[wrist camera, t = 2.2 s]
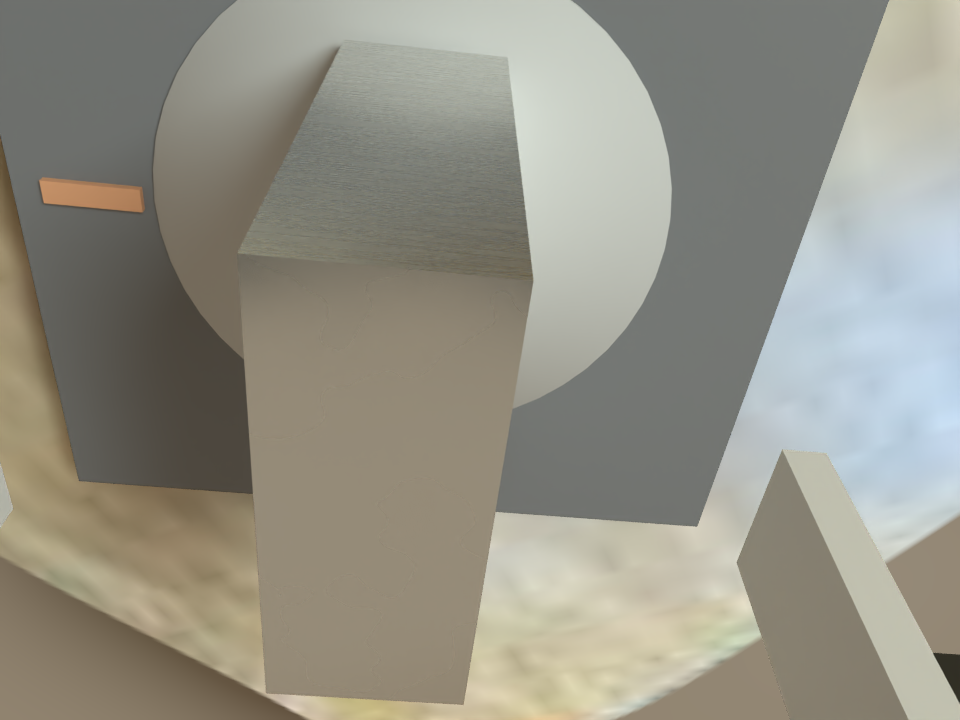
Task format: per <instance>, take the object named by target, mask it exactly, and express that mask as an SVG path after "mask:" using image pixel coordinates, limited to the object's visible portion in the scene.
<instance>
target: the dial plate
mask: <svg viewBox="0 0 960 720" xmlns="http://www.w3.org/2000/svg"><path fill="white" fill-rule="evenodd" d="M888 1H889V0H0V136H1V140H2V145H3V149H4V153H5V158H6V162H7V167H8V171H9V175H10V180H11V184H12V189H13V193H14V197H15V202H16V206H17V211H18V215H19V219H20V224H21V228H22V233H23V237H24V241H25V246H26V250H27V254H28V259H29V263H30V268H31V272H32V276H33V281H34V285H35V290H36V294H37V298H38V303H39V307H40V312H41V316H42V320H43V325H44V329H45V334H46V338H47V342H48V347H49V351H50V356H51V360H52V364H53V369H54V373H55V378H56V382H57V386H58V391H59V395H60V399H61V404H62V408H63V413H64V417H65V421H66V426H67V430H68V435H69V439H70V443H71V448H72V452H73V457H74V461H75V465H76V470H77V474H78V479H79V481H86V482H99V483H113V484H126V485H140V486H154V487H167V488H181V489H194V490H208V491H221V492H235V493H248V494H253V486H252V471H251V456H250V441H249V425H248V410H247V395H246V380H245V365H244V350H243V335H242V320H241V304H240V289H239V274H238V259H237V253H238V251H239V249H240V247H241V245H242V243H243V241H244V239H245V237H246V235H247V233H248V231H249V229H250V227H251V225H252V223H253V221H254V219H255V217H256V215H257V213H258V211H259V209H260V207H261V205H262V203H263V201H264V199H265V197H266V195H267V193H268V191H269V189H270V187H271V185H272V183H273V181H274V179H275V177H276V175H277V173H278V171H279V169H280V167H281V165H282V163H283V161H284V159H285V157H286V155H287V153H288V151H289V149H290V147H291V145H292V143H293V141H294V139H295V137H296V135H297V133H298V131H299V129H300V127H301V125H302V123H303V121H304V119H305V117H306V115H307V113H308V111H309V109H310V107H311V105H312V103H313V101H314V99H315V97H316V95H317V93H318V91H319V89H320V87H321V85H322V83H323V81H324V79H325V77H326V75H327V73H328V71H329V69H330V67H331V65H332V63H333V61H334V59H335V57H336V55H337V53H338V51H339V49H340V47H341V45H342V43H343V41H344V39H346V40H355V41H364V42H373V43H382V44H391V45H400V46H409V47H418V48H428V49H437V50H446V51H455V52H464V53H473V54H482V55H491V56H500V57H508V65H509V74H510V82H511V91H512V99H513V108H514V116H515V125H516V134H517V142H518V151H519V159H520V168H521V177H522V185H523V194H524V202H525V211H526V219H527V228H528V237H529V245H530V254H531V262H532V271H533V280H534V281H533V288H532V294H531V300H530V306H529V312H528V318H527V324H526V330H525V336H524V342H523V348H522V354H521V360H520V366H519V372H518V378H517V384H516V390H515V396H514V402H513V408H512V414H511V420H510V426H509V433H508V439H507V445H506V451H505V457H504V463H503V469H502V475H501V481H500V487H499V493H498V499H497V505H496V511H495V512H506V513H520V514H533V515H547V516H560V517H574V518H587V519H601V520H614V521H628V522H642V523H655V524H669V525H682V526H696V527H697V526H698V523H699V520H700V517H701V515H702V512H703V509H704V506H705V504H706V501H707V498H708V495H709V493H710V490H711V487H712V484H713V482H714V479H715V476H716V473H717V471H718V468H719V465H720V462H721V460H722V457H723V454H724V451H725V449H726V446H727V443H728V440H729V438H730V435H731V432H732V430H733V427H734V424H735V421H736V419H737V416H738V413H739V410H740V408H741V405H742V402H743V399H744V397H745V394H746V391H747V388H748V386H749V383H750V380H751V377H752V375H753V372H754V369H755V366H756V364H757V361H758V358H759V355H760V353H761V350H762V347H763V344H764V342H765V339H766V336H767V333H768V331H769V328H770V325H771V323H772V320H773V317H774V314H775V312H776V309H777V306H778V303H779V301H780V298H781V295H782V292H783V290H784V287H785V284H786V281H787V279H788V276H789V273H790V270H791V268H792V265H793V262H794V259H795V257H796V254H797V251H798V248H799V246H800V243H801V240H802V237H803V235H804V232H805V229H806V226H807V224H808V221H809V218H810V216H811V213H812V210H813V207H814V205H815V202H816V199H817V196H818V194H819V191H820V188H821V185H822V183H823V180H824V177H825V174H826V172H827V169H828V166H829V163H830V161H831V158H832V155H833V152H834V150H835V147H836V144H837V141H838V139H839V136H840V133H841V130H842V128H843V125H844V122H845V119H846V117H847V114H848V111H849V109H850V106H851V103H852V100H853V98H854V95H855V92H856V89H857V87H858V84H859V81H860V78H861V76H862V73H863V70H864V67H865V65H866V62H867V59H868V56H869V54H870V51H871V48H872V45H873V43H874V40H875V37H876V34H877V32H878V29H879V26H880V23H881V21H882V18H883V15H884V12H885V10H886V7H887V4H888Z"/></svg>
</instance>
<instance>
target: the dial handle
mask: <svg viewBox="0 0 960 720" xmlns="http://www.w3.org/2000/svg"><path fill="white" fill-rule="evenodd" d="M237 259H238V274H239V289H240V304H241V320H242V335H243V350H244V365H245V380H246V395H247V410H248V425H249V441H250V456H251V471H252V486H253V501H254V516H255V531H256V546H257V562H258V577H259V592H260V607H261V622H262V637H263V652H264V667H265V683H266V693H271V694H288V695H305V696H322V697H339V698H356V699H374V700H391V701H408V702H425V703H442V704H459V705H463V704H464V698H465V692H466V686H467V680H468V674H469V668H470V662H471V656H472V650H473V644H474V638H475V632H476V626H477V620H478V614H479V608H480V602H481V596H482V590H483V584H484V578H485V571H486V565H487V559H488V553H489V547H490V541H491V535H492V529H493V523H494V517H495V511H496V505H497V499H498V493H499V487H500V481H501V475H502V469H503V463H504V457H505V451H506V445H507V439H508V433H509V426H510V420H511V414H512V408H513V402H514V396H515V390H516V384H517V378H518V372H519V366H520V360H521V354H522V348H523V342H524V336H525V330H526V324H527V318H528V312H529V306H530V300H531V294H532V288H533V281H534V280H533V271H532V262H531V254H530V245H529V237H528V228H527V219H526V211H525V202H524V194H523V185H522V177H521V168H520V159H519V151H518V142H517V134H516V125H515V116H514V108H513V99H512V91H511V82H510V74H509V65H508V57H500V56H491V55H482V54H473V53H464V52H455V51H446V50H437V49H428V48H418V47H409V46H400V45H391V44H382V43H373V42H364V41H355V40H346V39H344V41H343V43H342V45H341V47H340V49H339V51H338V53H337V55H336V57H335V59H334V61H333V63H332V65H331V67H330V69H329V71H328V73H327V75H326V77H325V79H324V81H323V83H322V85H321V87H320V89H319V91H318V93H317V95H316V97H315V99H314V101H313V103H312V105H311V107H310V109H309V111H308V113H307V115H306V117H305V119H304V121H303V123H302V125H301V127H300V129H299V131H298V133H297V135H296V137H295V139H294V141H293V143H292V145H291V147H290V149H289V151H288V153H287V155H286V157H285V159H284V161H283V163H282V165H281V167H280V169H279V171H278V173H277V175H276V177H275V179H274V181H273V183H272V185H271V187H270V189H269V191H268V193H267V195H266V197H265V199H264V201H263V203H262V205H261V207H260V209H259V211H258V213H257V215H256V217H255V219H254V221H253V223H252V225H251V227H250V229H249V231H248V233H247V235H246V237H245V239H244V241H243V243H242V245H241V247H240V249H239V251H238V253H237Z"/></svg>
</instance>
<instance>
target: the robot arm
mask: <svg viewBox="0 0 960 720" xmlns="http://www.w3.org/2000/svg"><path fill="white" fill-rule="evenodd" d="M12 510H13V506H12V502H11V499H10V495H9V492H8V488H7V485H6V481H5V477H4V474H3V470H2V467H1V463H0V528H1V526H2V525H3V523H4V522H5V520H6V519H7V517H8V516H9V514H10V513H11V511H12ZM737 565H738V568H739V571H740V574H741V577H742V580H743V583H744V586H745V589H746V591H747V594H748V597H749V600H750V603H751V606H752V609H753V612H754V615H755V618H756V621H757V624H758V627H759V630H760V633H761V636H762V639H763V642H764V645H765V648H766V651H767V653H768V656H769V659H770V662H771V665H772V668H773V671H774V674H775V677H776V680H777V683H778V686H779V689H780V692H781V695H782V698H783V701H784V704H785V707H786V709H787V713H788V716H789V719H790V720H960V655H956V654H942V653H932V651H931V649H930V647H929V645H928V643H927V642H926V640H925V638H924V636H923V634H922V632H921V630H920V628H919V626H918V624H917V623H916V621H915V619H914V617H913V615H912V613H911V611H910V609H909V608H908V606H907V604H906V602H905V600H904V598H903V596H902V594H901V593H900V591H899V589H898V587H897V585H896V583H895V581H894V580H893V578H892V576H891V574H890V572H889V570H888V568H887V566H886V564H885V562H884V561H883V559H882V557H881V555H880V553H879V551H878V549H877V547H876V545H875V544H874V542H873V540H872V538H871V536H870V534H869V532H868V530H867V529H866V527H865V525H864V523H863V521H862V519H861V517H860V515H859V514H858V512H857V510H856V508H855V506H854V504H853V502H852V500H851V498H850V497H849V495H848V493H847V491H846V489H845V487H844V485H843V483H842V482H841V480H840V478H839V476H838V474H837V472H836V470H835V468H834V466H833V465H832V463H831V461H830V459H829V457H828V455H827V453H818V452H806V451H794V450H782V452H781V454H780V457H779V459H778V461H777V464H776V466H775V469H774V471H773V474H772V476H771V479H770V481H769V484H768V486H767V489H766V491H765V494H764V496H763V499H762V501H761V504H760V506H759V508H758V511H757V513H756V516H755V518H754V521H753V523H752V526H751V528H750V531H749V533H748V536H747V538H746V541H745V543H744V546H743V548H742V551H741V553H740V555H739V558H738V560H737Z"/></svg>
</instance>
